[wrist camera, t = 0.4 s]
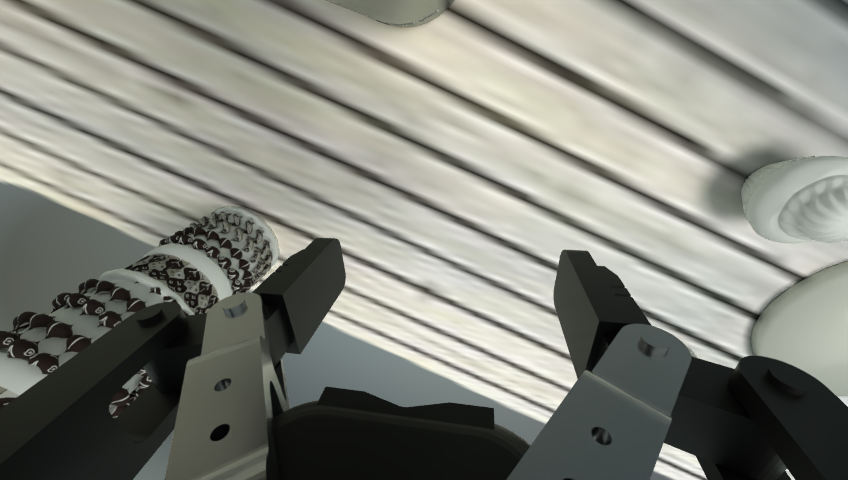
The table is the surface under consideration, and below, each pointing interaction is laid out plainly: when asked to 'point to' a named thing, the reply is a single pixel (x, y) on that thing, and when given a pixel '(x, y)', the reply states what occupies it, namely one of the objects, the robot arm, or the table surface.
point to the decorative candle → (140, 297)
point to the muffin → (799, 200)
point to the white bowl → (810, 328)
